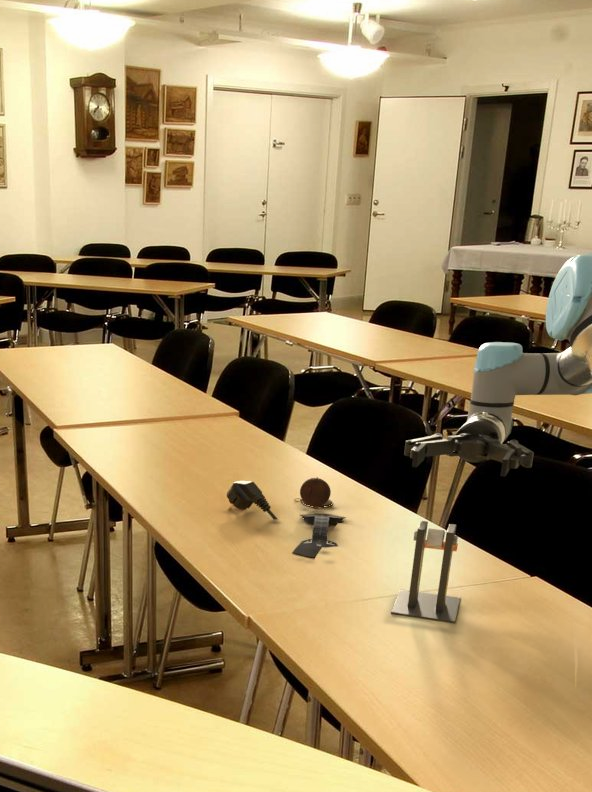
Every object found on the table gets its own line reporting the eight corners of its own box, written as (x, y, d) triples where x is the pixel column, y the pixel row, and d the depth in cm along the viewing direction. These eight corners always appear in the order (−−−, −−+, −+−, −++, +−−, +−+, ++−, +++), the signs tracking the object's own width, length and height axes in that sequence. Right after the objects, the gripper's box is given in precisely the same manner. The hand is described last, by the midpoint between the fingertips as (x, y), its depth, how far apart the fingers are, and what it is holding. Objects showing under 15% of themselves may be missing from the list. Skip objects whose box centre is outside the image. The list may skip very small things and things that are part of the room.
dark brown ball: (334, 502, 194) (337, 469, 191) (327, 514, 187) (330, 479, 185) (296, 499, 197) (299, 466, 194) (289, 510, 191) (291, 476, 188)
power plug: (269, 519, 182) (232, 476, 186) (250, 543, 187) (215, 501, 192) (286, 513, 185) (250, 471, 189) (267, 536, 190) (233, 495, 195)
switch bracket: (399, 596, 146) (409, 514, 141) (459, 604, 142) (472, 520, 137) (390, 619, 138) (400, 532, 133) (453, 628, 134) (467, 540, 129)
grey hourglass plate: (291, 558, 164) (292, 540, 162) (299, 515, 185) (300, 499, 184) (343, 562, 161) (345, 544, 160) (346, 517, 183) (347, 501, 182)
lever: (419, 550, 147) (422, 536, 147) (456, 555, 145) (458, 540, 145) (414, 542, 136) (416, 527, 135) (453, 547, 133) (456, 531, 133)
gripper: (410, 412, 169) (382, 433, 153) (560, 423, 157) (547, 448, 140) (405, 451, 172) (377, 477, 156) (552, 465, 160) (539, 495, 143)
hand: (458, 463), depth 148 cm, fingers open, 13 cm apart
